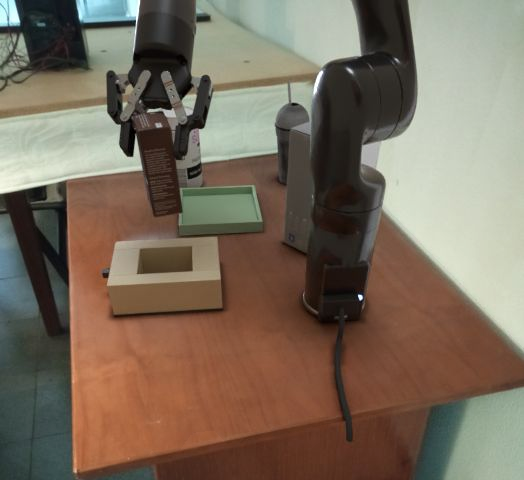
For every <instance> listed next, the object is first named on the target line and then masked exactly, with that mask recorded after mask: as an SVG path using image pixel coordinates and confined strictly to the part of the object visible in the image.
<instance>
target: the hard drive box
mask: <svg viewBox="0 0 524 480" xmlns="http://www.w3.org/2000/svg"><path fill="white" fill-rule="evenodd" d="M310 130H311V120H310V121H309V122H307V123H304V124H301V125H298V126H296V127H293V128H291V130H290V139H289V159H288V176H287V184H286V192H285V193H286V194H285V207H284V208H285V211H284V225H283V239H282V240H283V241H282V242H283V243H284V244H286V245H288V246H291V247H293V248H294V249H296V250H299V251H300V252H301V253H305V254H306V255H307V249H308V237H309V224H310V214H311V201H312V189H313V184H312V178H311V172H310ZM381 145H382V141H380V142H376V143H372V144H367V145H363V146H362V155H361V163H362V164H365V165H368V166H370V167H373V168H375V169H376V170H377V167H378V161H379V155H380V149H381Z"/></svg>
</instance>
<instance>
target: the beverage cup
mask: <svg viewBox="0 0 524 480" xmlns="http://www.w3.org/2000/svg"><path fill="white" fill-rule="evenodd" d="M286 81H287V97H288V103H286V104H284V105H283V106H281V108H280V109H278V112H277V114H276V116H275V122H274V127H275V136H276V145H277V164H278V165H277V166H278V175H279V177H278V178H279V182H280V183H281V184H283V185H284V184H285V185H287V176H288V159H289V139H290V130H291V128H293V127H296V126H298V125H301V124H304V123H307V122H309V121H311V119H310V115H309V112H308V110H307V109H306V108H305V107H304V106H303V105H302V104H300V103H298V102H292V91H291V78H290V77H287V78H286Z"/></svg>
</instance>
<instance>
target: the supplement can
mask: <svg viewBox="0 0 524 480" xmlns="http://www.w3.org/2000/svg"><path fill="white" fill-rule="evenodd" d="M183 106H184V109H185V111H186V114H187V116H188V115H192V114H193V110H194V108H192V107H190V106H186V105H183ZM157 111H163V112H164V114H165V116H166V117H167V118H168V122H169V124H170V126H171V131H172V137H173V144H174V137H175V128H176V125H178V120H177V117H176V114H175V112H174V109H173V108H172V110H165V109H162V108H159V109H157ZM175 159H176V158H175ZM176 166H177V173H178V181H179V188H198V187H202V185H203V183H204V180H203V179H204V178H203V167H202V166H203V165H202V153H201V141H200V129H198V128H197V129H194V130H192V131H191V132H190V135H189V144H188V153H187V155H186V156H183V159H182V160H176Z"/></svg>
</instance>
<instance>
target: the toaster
mask: <svg viewBox="0 0 524 480" xmlns="http://www.w3.org/2000/svg"><path fill="white" fill-rule="evenodd" d="M219 254H220V253H219V243H218V236H203V237H201V236H200V237H181V238H163V239H160V238H159V239H142V240H123V241H115V243H114V248H113V253H112V258H111V263H110V267H109V268H102V272H101V274H102V278H103V279H107V283H106V288H107V293H108V296H109V297H108V298H109V301H110V304H111V309H112V316H113V317H114V318H117V317H131V316H132V317H133V316H147V315H148V316H149V315H163V314H165V315H166V314H179V313H193V312H194V313H195V312H196V313H197V312H209V311H210V312H211V311H223V310H224V304H223V303H224V301H223V290H222V278H221V277H222V276H221V266H220V255H219Z"/></svg>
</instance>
